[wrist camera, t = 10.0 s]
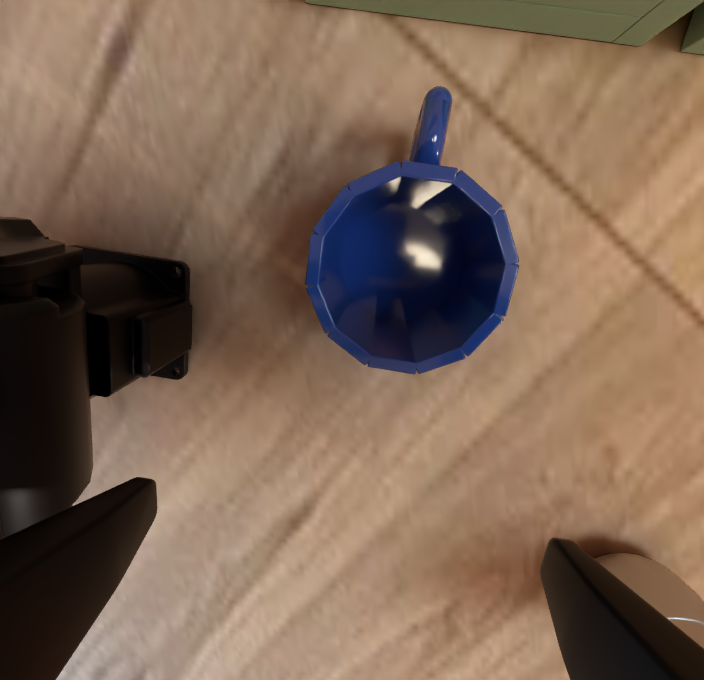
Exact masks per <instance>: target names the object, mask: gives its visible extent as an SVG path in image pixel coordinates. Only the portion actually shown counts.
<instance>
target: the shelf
mask: <svg viewBox="0 0 704 680" xmlns="http://www.w3.org/2000/svg"><path fill="white" fill-rule="evenodd" d="M305 2H306V3H311V4H319V5H326V6H334V7H342V8H350V9H357V10H365V11H373V12H381V13H388V14H396V15H404V16H412V17H419V18H427V19H435V20H443V21H450V22H458V23H466V24H474V25H481V26H489V27H497V28H505V29H513V30H520V31H528V32H536V33H544V34H551V35H559V36H567V37H575V38H582V39H590V40H598V41H606V42H612V43H618V44H626V45H633V46H642V45H643V44H644V43H646V42H647V41H649V40H650V39H651V38H653V37H654V36H656V35H657V34H658V33H660V32H661V31H663V30H664V29H665V28H667V27H668V26H670V25H671V24H672V23H674V22H675V21H677V20H678V19H679V18H681V17H682V16H684V15H685V14H687V13H688V12H689V11H691V10H692V9H694V8H695V9H694V12H693V15H692V18H691V21H690V24H689V27H688V30H687V33H686V36H685V39H684V42H683V45H682V48H681V52H688V53H696V54H704V0H305Z"/></svg>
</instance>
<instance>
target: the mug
mask: <svg viewBox="0 0 704 680" xmlns="http://www.w3.org/2000/svg"><path fill="white" fill-rule="evenodd" d="M451 107H452V96H451V94H450V92H449V91H448V89H446V88H445V87H441V86H437V87H434V88H432V89H431V90H430V91H429V92H428V93H427V94H426V96H425V98H424V101H423V104H422V108H421V111H420V114H419V117H418V120H417V124H416V127H415V130H414V136H413V142H412V147H411V153H410V159H409V161H406V160H403V161H402V162H401V165H400V162H399V161H396V162H394V163H392V164H389V165H387V166H385V167H383V168H380V169H378V170H376V171H374V172H371V173H369V174H367V175H364V176H362V177H360V178H358V179H355V180H353V181H351V182H349V183H347V186H348V188H349V189H348V188H347V187H346V186H344V187H343V188H342V189H341V191H340V192H339V193H338V195H337V196H336V197H335V199H334V200H333V202H332V203H331V204H330V206H329V207H328V209H327V210H326V211H325V213H324V214H323V215H322V217H321V218H320V220H319V221H318V222H317V224H316V225H315V227H314V228H313V232H315V233H311V236H310V245H309V254H308V263H307V272H306V281H305V284H306V285H307V286H308V287H307V288H306V290H307V293H308V295H309V297H310V300H311V302H312V304H313V307H314V309H315V311H316V314H317V316H318V318H319V321H320V323H321V325H322V328H323V330H324V332H325V333H328V335H327V336H328V337H329V338H330V339H331V340H333V341H334V342H335V343H336V344H338V345H339V346H340V347H342V348H343V349H344V350H345V351H347V352H348V353H349V354H351V355H352V356H353V357H355V358H356V359H357V360H358V361H360V362H361V363H362V364H364V365H366V364H367V363H368V367H372V368H378V369H385V370H391V371H397V372H403V373H409V374H416V370H417V373H418V374H421V373H424V372H427V371H430V370H433V369H436V368H439V367H442V366H445V365H448V364H451V363H454V362H457V361H460V360H463V359H465V355H466V356H469V355H470V354H471V353H472V352H473V351H474V350H475V349H476V348H477V347H478V346H479V345H480V344H481V343H482V342H483V341H484V340H485V339H486V338H487V337H488V336H489V335H490V334H491V332H492V331H493V330H494V329H495V328H496V327H497V326H498V325H499V324H500V323H501V322H502V321H503V318H502V317H501V316H506V313H507V310H508V306H509V302H510V298H511V295H512V291H513V287H514V283H515V280H516V276H517V272H518V268H519V265H518V264H515V263H518V262H519V258H518V255H517V251H516V248H515V244H514V241H513V237H512V234H511V230H510V227H509V223H508V220H507V216H506V212H505V210H500V209H501V208H502V205H501V204H500V203H499V202H497V201H496V200H495V199H494V198H493V197H492V196H491V195H489V194H488V193H487V192H486V191H485V190H484V189H483V188H482V187H480V186H479V185H478V184H477V183H476V182H475V181H474V180H472V179H471V178H470V177H469V176H468V175H467V174H466V173H465V172H463V171H462V170H460V171H459V172H458V173H457V171H458V169H457V168H454V167H447V166H440V164H441V158H442V153H443V148H444V143H445V138H446V133H447V127H448V122H449V117H450V112H451ZM464 354H465V355H464Z"/></svg>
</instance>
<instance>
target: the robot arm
mask: <svg viewBox="0 0 704 680" xmlns="http://www.w3.org/2000/svg"><path fill="white" fill-rule="evenodd" d="M177 267H179V268H180V269H181V275H178V274H177V273H176V268H177ZM189 287H190V271H189V267H188V266H187V264H185V263H184V262H181V261H176V260H170V259H163V258H157V257H150V256H144V255H138V254H131V253H125V252H118V251H112V250H105V249H99V248H92V247H86V246H79V245H75V246H66V245H65V243H62V242H58V241H53V240H49V237H45V236H44V235H43V234H42V233H41V232H40V230H39V229H38V228H37V227H36V226H35V225H34V224H33V222H32V221H31V220H28V219H22V218H16V217H0V680H56V678H57V677H58V675H59V674H60V672H61V671H62V669H63V668H64V667H65V665H66V664H67V662H68V661H69V659H70V658H71V656H72V655H73V653H74V652H75V650H76V649H77V647H78V646H79V644H80V643H81V641H82V640H83V638H84V637H85V635H86V634H87V632H88V631H89V629H90V628H91V626H92V625H93V623H94V622H95V620H96V619H97V617H98V616H99V614H100V613H101V611H102V610H103V608H104V607H105V605H106V604H107V602H108V601H109V599H110V598H111V596H112V595H113V593H114V591H115V590H116V588H117V587H118V585H119V583H120V582H121V580H122V578H123V576H124V575H125V573H126V571H127V569H128V567H129V565H130V564H131V562H132V560H133V558H134V556H135V554H136V553H137V551H138V549H139V547H140V545H141V543H142V541H143V540H144V538H145V536H146V534H147V532H148V530H149V529H150V527H151V525H152V523H153V521H154V519H155V517H156V513H157V492H156V483H155V481H154V480H153V479H148V478H141V477H136V478H133V479H131V480H129V481H127V482H125V483H122V484H120V485H118V486H116V487H114V488H112V489H109V490H107V491H105V492H103V493H101V494H99V495H96V496H94V497H92V498H90V499H88V500H86V501H83V502H81V503H79V504H77V505H75V506H72V504H73V503H74V502H75V501H76V500H77V499H78V498H79V496H80V495H81V493H82V492H83V491H84V489H85V488H86V487H87V485H88V484H89V483H90V480H91V474H92V469H93V453H92V432H91V411H90V399H91V398H93V397H94V396H102V397H109V396H110V395H112V394H113V393H115V392H117V391H118V390H120V389H122V388H123V387H125V386H127V385H128V384H130V383H132V382H133V381H135V380H137V379H138V378H140V377H144V378H145V377H148V376H149V375H151V376H157V377H163V378H169V379H175V380H179V379H181V378H182V377H184V376H185V375H186V374H187V371H188V351H189V350H190V349H191V345H192V305H191V303H190V302H189ZM175 367H177V368H178V369H179V370H180V373H178V372H176V371H175ZM541 579H542V583H543V587H544V591H545V594H546V598H547V602H548V606H549V609H550V613H551V617H552V621H553V625H554V628H555V632H556V636H557V640H558V643H559V647H560V650H561V654H562V657H563V660H564V663H565V666H566V669H567V672H568V674H569V677H570V680H704V648H703V647H701V646H700V645H699V644H698V643H696V642H695V641H694V640H693V639H692V638H690V637H689V636H688V635H687V634H685V633H684V632H683V631H682V630H681V629H679V628H678V627H677V626H676V625H674V624H673V623H672V622H671V621H670V620H668V619H667V618H666V617H665V616H663V615H662V614H661V613H660V612H659V611H657V610H656V609H655V608H654V607H652V606H651V605H650V604H649V603H648V602H646V601H645V600H644V599H643V598H641V597H640V596H639V595H638V594H636V593H635V592H634V591H633V590H632V589H630V588H629V587H628V586H627V585H625V584H624V583H623V582H622V581H621V580H619V579H618V578H617V577H616V576H614V575H613V574H612V573H611V572H610V571H608V570H607V569H606V568H605V567H603V566H602V565H601V564H600V563H599V562H597V561H596V560H595V559H594V558H592V557H591V556H590V555H589V554H587V553H586V552H585V551H584V550H583V549H581V548H580V547H579V546H578V545H576V544H575V543H574V542H573V541H571V540H566V539H559V538H552V539H550V541H549V543H548V545H547V548H546V552H545V555H544V558H543V561H542V564H541Z"/></svg>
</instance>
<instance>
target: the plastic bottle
mask: <svg viewBox="0 0 704 680" xmlns="http://www.w3.org/2000/svg"><path fill="white" fill-rule="evenodd" d="M595 560H596V561H597V562H599V563H600V564H601V565H602V566H603V567H605V568H606V569H607V570H608V571H610V572H611V573H612V574H613V575H614V576H616V577H617V578H618V579H619V580H621V581H622V582H623V583H624V584H625V585H627V586H628V587H629V588H630V589H632V590H633V591H634V592H635V593H636V594H638V595H639V596H640V597H641V598H643V599H644V600H645V601H646V602H648V603H649V604H650V605H651V606H652V607H654V608H655V609H656V610H657V611H659V612H660V613H661V614H662V615H663V616H665V617H666V618H667V619H668V620H670V621H671V622H672V623H673V624H674V625H676V626H677V627H678V628H679V629H681V630H682V631H683V632H684V633H685V634H687V635H688V636H689V637H690V638H692V639H693V640H694V641H695V642H696V643H698V644H699V645H700V646H701V647H703V648H704V602H703V600H702V599H701V598H700V596H699V595H698V594H697V593H696V592H695V591H694V590H693V589H692V588H691V587H690V586H688V585H687V584H686V583H685V582H684V581H683V580H682V579H680V578H679V577H678V576H677V575H676V574H675V573H674V572H672V571H671V570H670V569H669V568H667V567H665V566H664V565H662V564H660V563H658V562H655V561H652V560H650V559H647V558H644V557H642V556H639V555H634V554H628V553H616V554H609V555H604V556H601V557H598V558H596V559H595Z"/></svg>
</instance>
